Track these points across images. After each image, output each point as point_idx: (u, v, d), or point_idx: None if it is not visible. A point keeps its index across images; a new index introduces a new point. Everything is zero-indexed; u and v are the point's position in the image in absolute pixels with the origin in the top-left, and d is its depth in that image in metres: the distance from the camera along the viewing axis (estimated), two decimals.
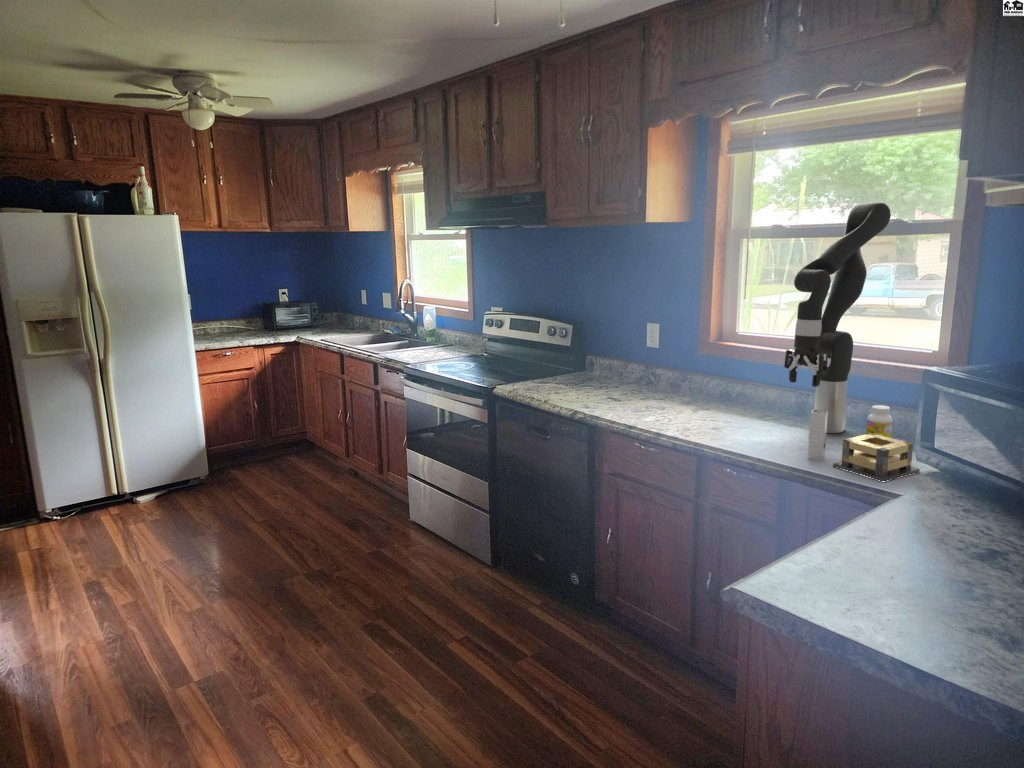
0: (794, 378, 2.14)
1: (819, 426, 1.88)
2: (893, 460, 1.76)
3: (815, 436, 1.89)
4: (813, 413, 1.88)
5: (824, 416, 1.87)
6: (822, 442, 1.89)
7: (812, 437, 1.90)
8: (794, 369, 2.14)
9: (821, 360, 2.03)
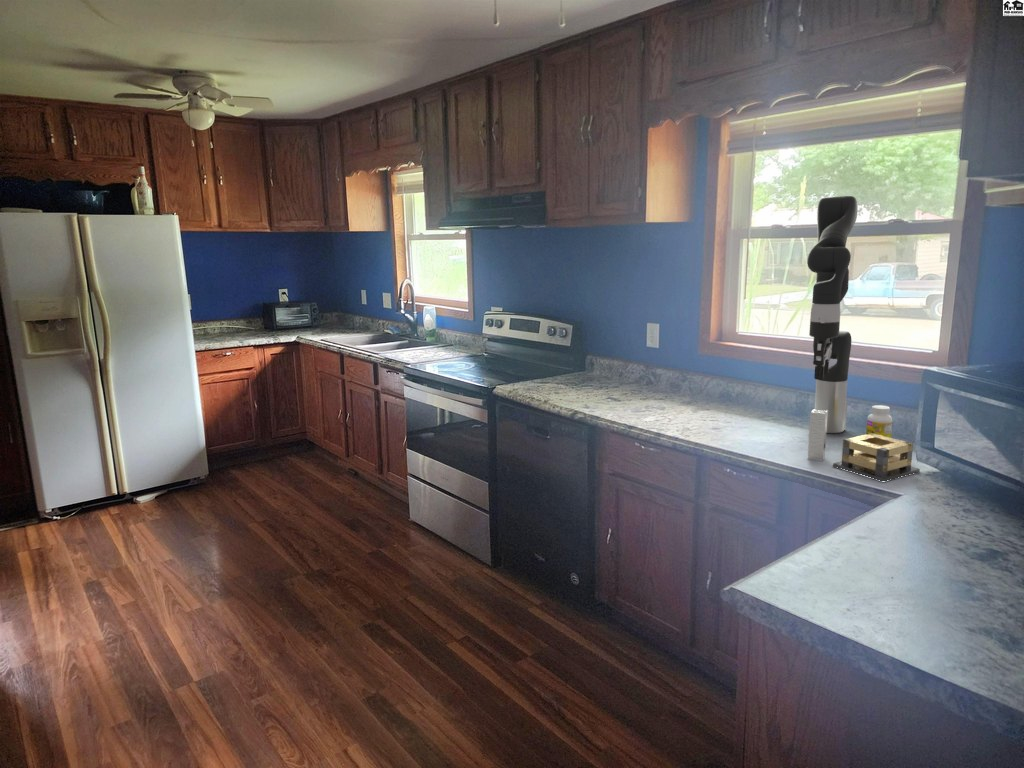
0: None
1: (819, 426, 1.88)
2: (893, 460, 1.76)
3: (816, 436, 1.89)
4: (813, 413, 1.88)
5: (824, 416, 1.87)
6: (822, 442, 1.89)
7: (812, 437, 1.90)
8: None
9: (831, 343, 1.90)
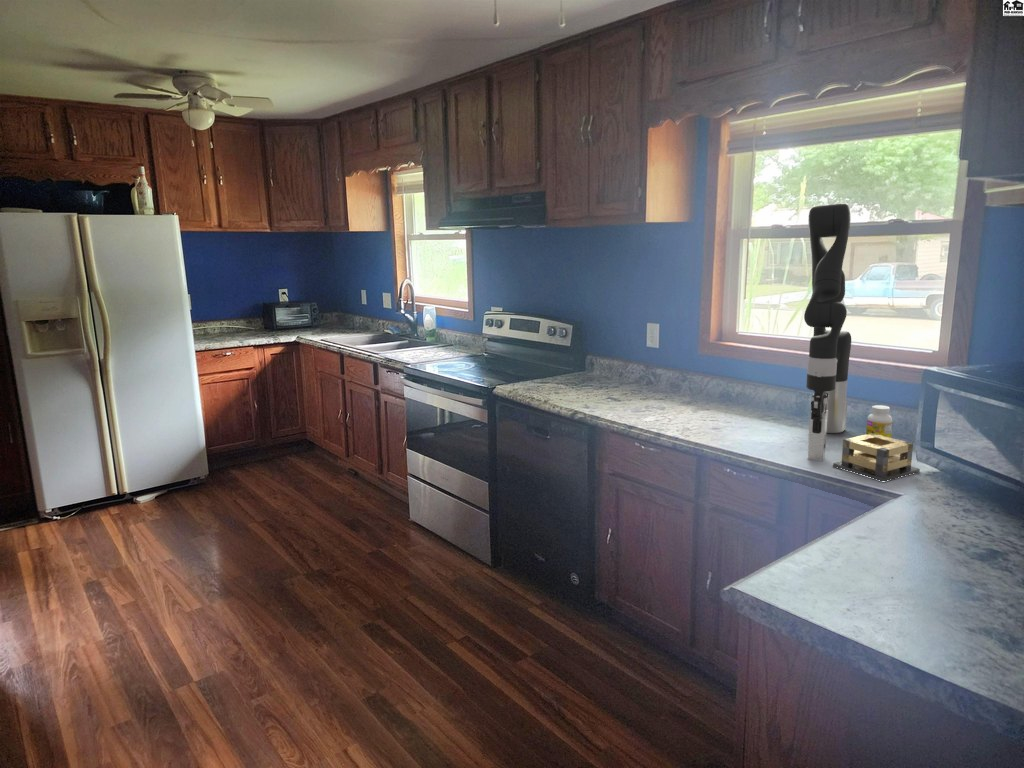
0: None
1: None
2: (893, 460, 1.76)
3: (815, 436, 1.89)
4: None
5: (824, 416, 1.87)
6: (822, 442, 1.89)
7: (812, 437, 1.90)
8: None
9: None
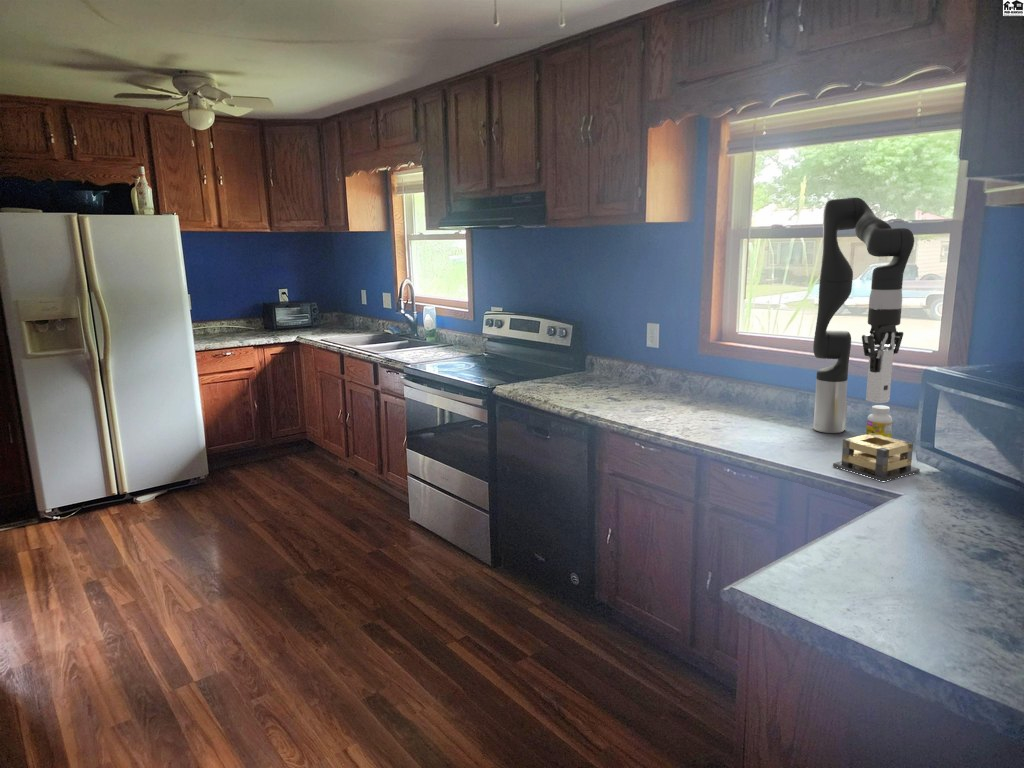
0: None
1: None
2: (893, 460, 1.76)
3: (874, 375, 1.75)
4: None
5: (882, 354, 1.73)
6: (880, 382, 1.74)
7: (870, 377, 1.76)
8: None
9: (901, 338, 1.76)
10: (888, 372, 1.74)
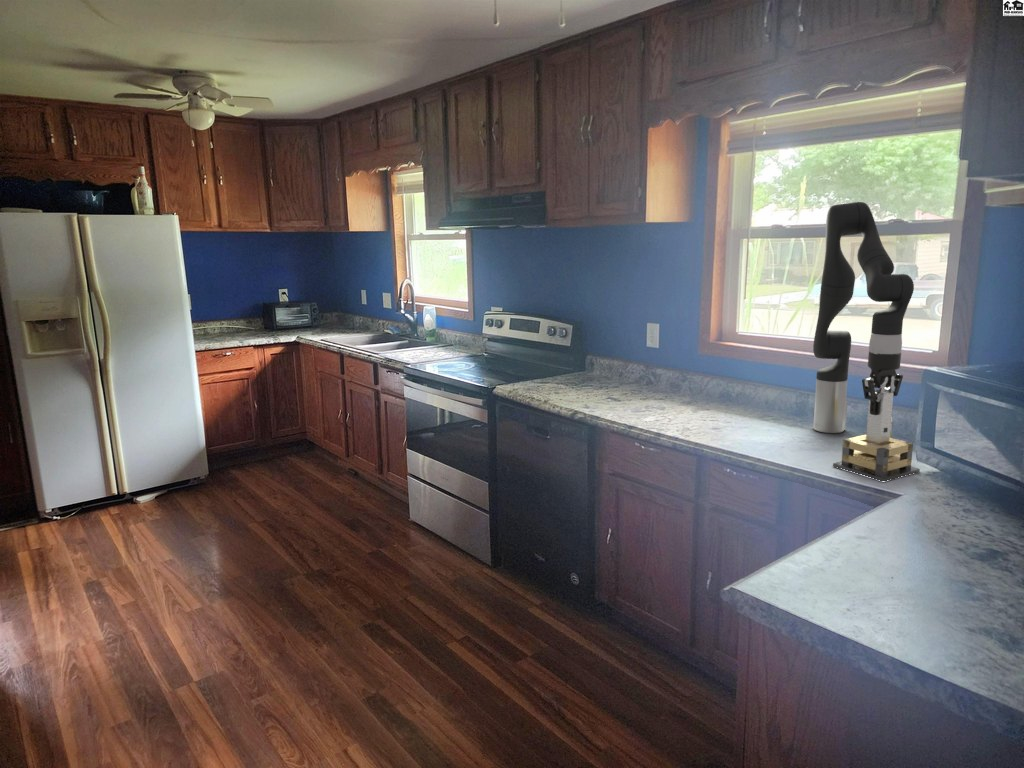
0: None
1: None
2: (893, 460, 1.76)
3: (874, 418, 1.77)
4: None
5: (882, 397, 1.75)
6: (880, 425, 1.76)
7: (870, 419, 1.78)
8: None
9: (900, 381, 1.78)
10: (888, 415, 1.77)
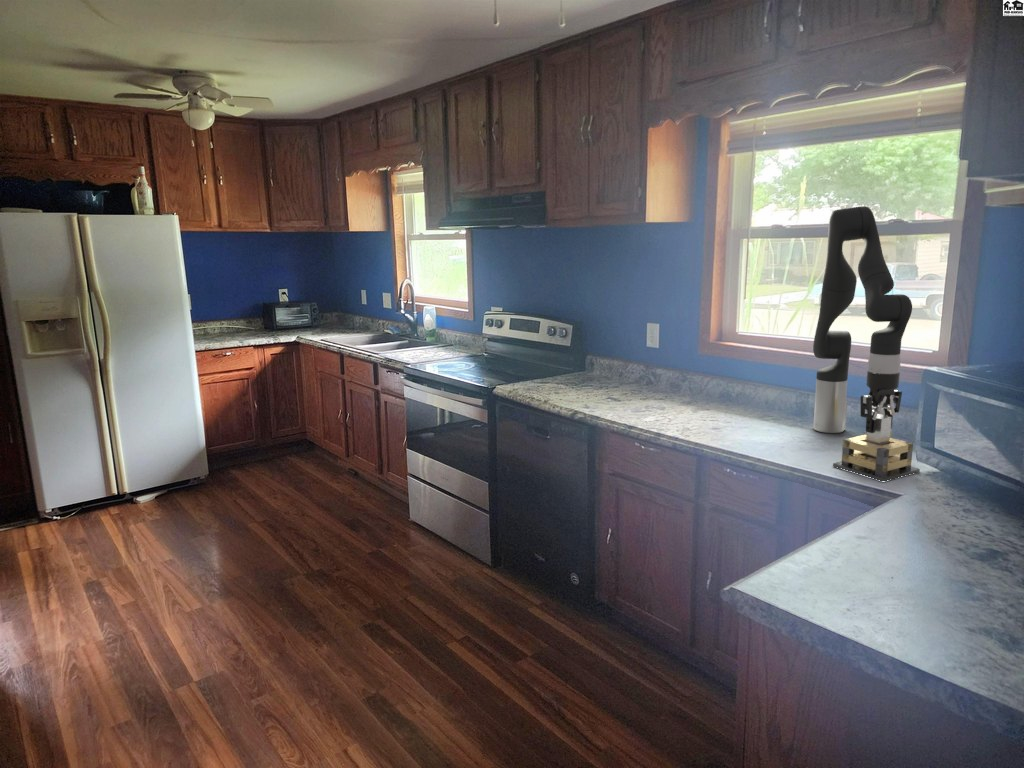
0: None
1: (875, 431, 1.78)
2: (893, 460, 1.76)
3: (872, 441, 1.79)
4: None
5: (880, 421, 1.76)
6: None
7: None
8: None
9: (900, 397, 1.79)
10: (886, 439, 1.78)
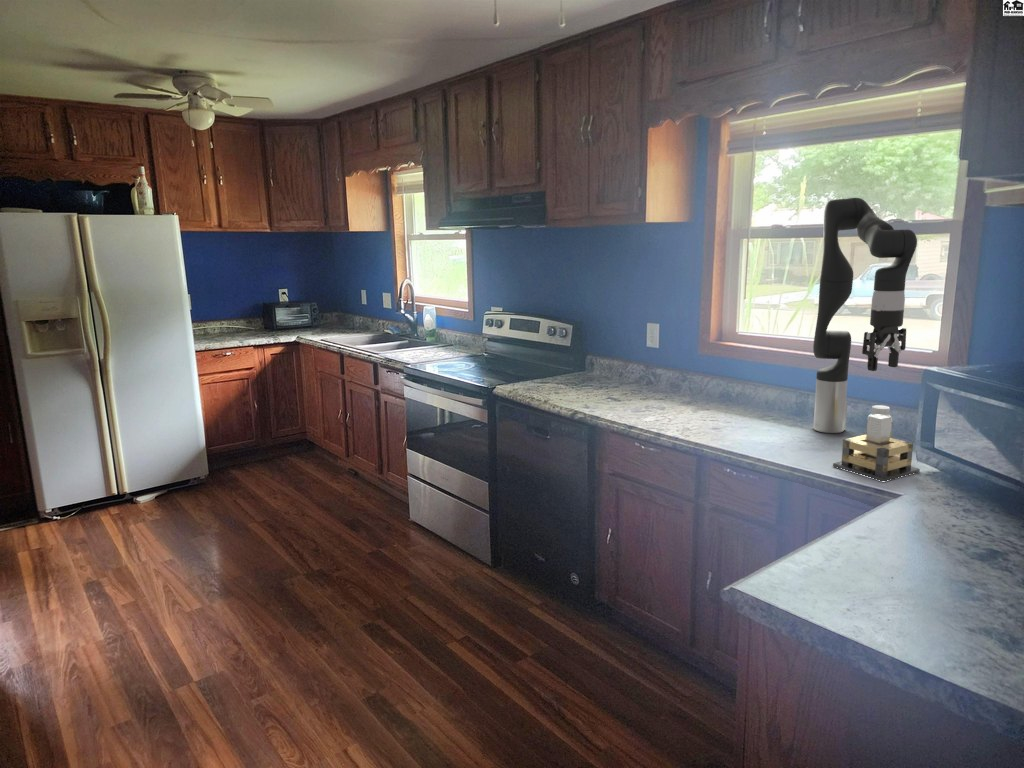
0: None
1: (875, 431, 1.78)
2: (893, 460, 1.76)
3: (872, 441, 1.79)
4: (870, 417, 1.78)
5: (880, 421, 1.76)
6: None
7: None
8: None
9: (905, 334, 1.76)
10: (886, 439, 1.78)
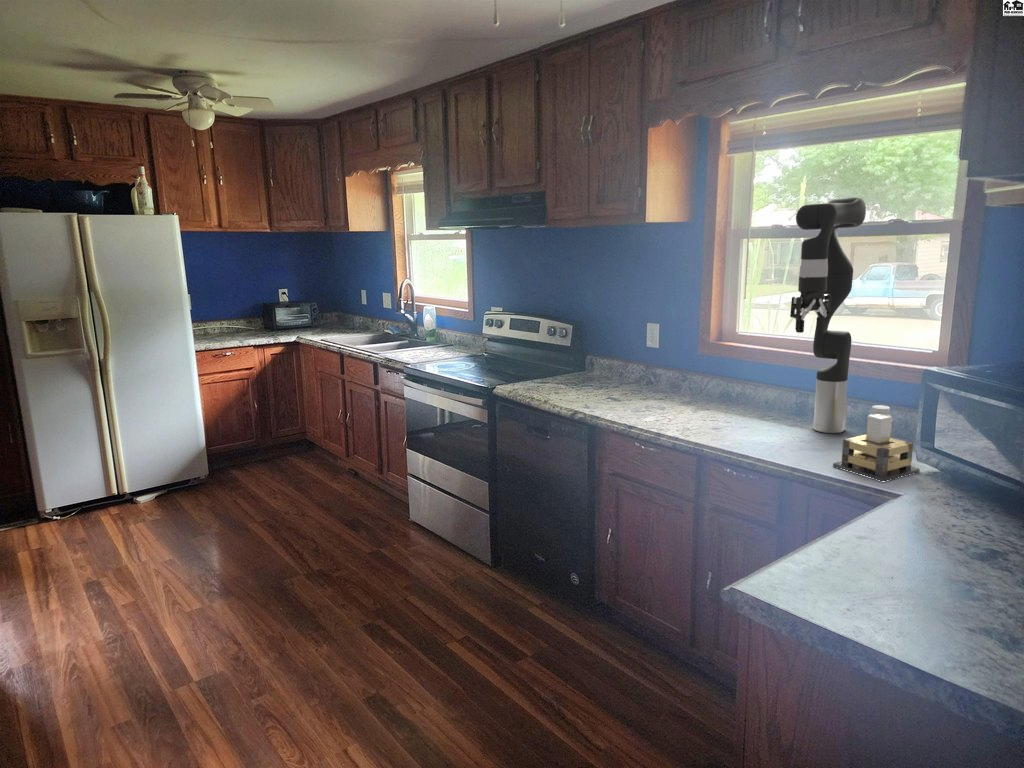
0: None
1: (875, 431, 1.78)
2: (893, 460, 1.76)
3: (872, 441, 1.79)
4: (870, 417, 1.78)
5: (880, 421, 1.76)
6: None
7: None
8: None
9: (830, 300, 1.94)
10: (886, 439, 1.78)
